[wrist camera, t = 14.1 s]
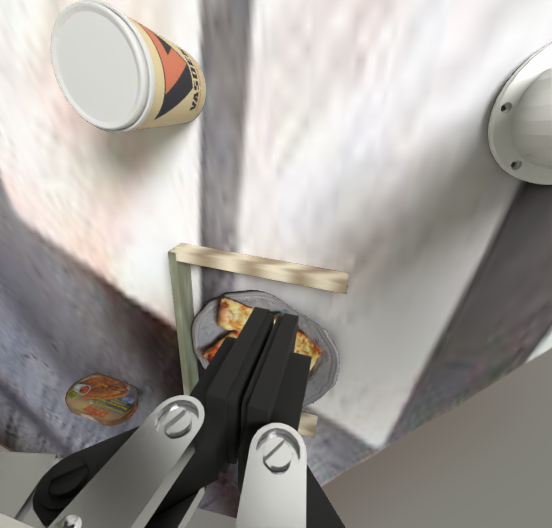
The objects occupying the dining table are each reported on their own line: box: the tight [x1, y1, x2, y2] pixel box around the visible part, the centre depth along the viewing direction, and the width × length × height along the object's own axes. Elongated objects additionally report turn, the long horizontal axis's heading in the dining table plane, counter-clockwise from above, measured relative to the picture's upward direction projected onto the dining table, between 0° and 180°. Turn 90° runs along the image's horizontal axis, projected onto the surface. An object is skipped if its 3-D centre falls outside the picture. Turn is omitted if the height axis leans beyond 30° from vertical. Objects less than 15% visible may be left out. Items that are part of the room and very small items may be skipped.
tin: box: [65, 374, 138, 426], centre depth 61 cm, size 15×3×8 cm, turn 81°
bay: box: [168, 243, 349, 438], centre depth 46 cm, size 25×31×4 cm
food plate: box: [191, 290, 340, 406], centre depth 47 cm, size 25×23×4 cm
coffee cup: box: [51, 0, 206, 133], centre depth 28 cm, size 9×9×12 cm
